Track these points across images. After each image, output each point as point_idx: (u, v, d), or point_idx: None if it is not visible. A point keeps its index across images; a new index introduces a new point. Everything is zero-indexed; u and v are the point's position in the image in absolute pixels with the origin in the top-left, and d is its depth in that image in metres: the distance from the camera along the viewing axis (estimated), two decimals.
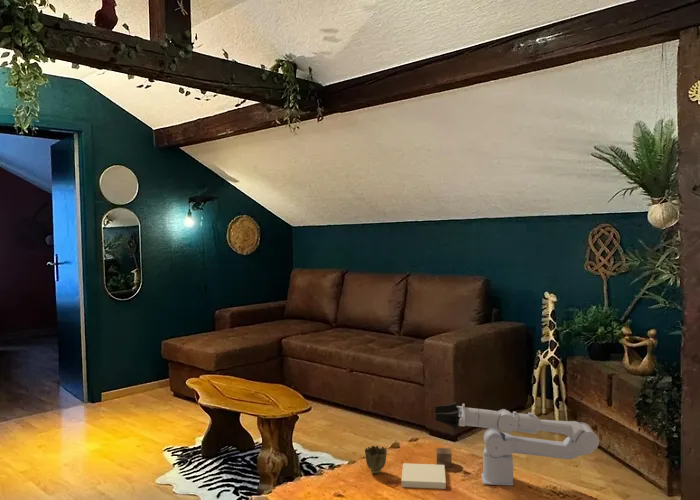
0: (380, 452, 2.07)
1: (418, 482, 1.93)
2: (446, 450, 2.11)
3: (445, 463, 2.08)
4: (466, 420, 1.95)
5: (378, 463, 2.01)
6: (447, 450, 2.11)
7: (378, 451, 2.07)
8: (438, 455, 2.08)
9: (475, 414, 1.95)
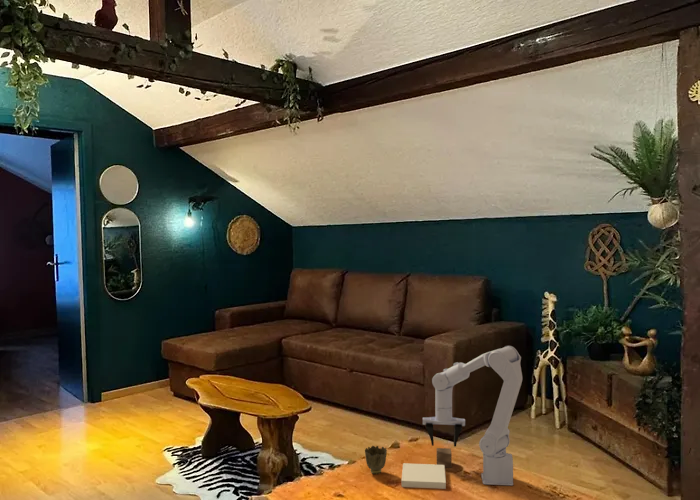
0: (380, 452, 2.07)
1: (418, 482, 1.93)
2: (446, 450, 2.11)
3: (445, 463, 2.08)
4: (435, 416, 2.10)
5: (378, 463, 2.01)
6: (447, 450, 2.11)
7: (378, 451, 2.07)
8: (438, 455, 2.08)
9: None
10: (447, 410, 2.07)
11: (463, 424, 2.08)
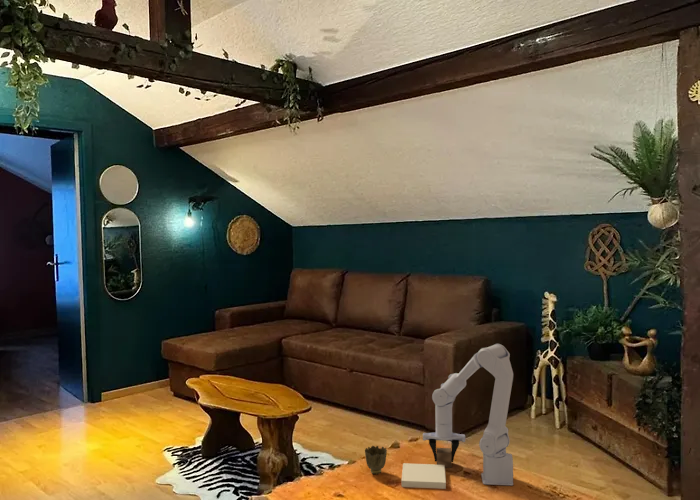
0: (380, 452, 2.07)
1: (418, 482, 1.93)
2: (446, 450, 2.11)
3: (445, 462, 2.08)
4: (435, 432, 2.10)
5: (378, 463, 2.01)
6: (447, 449, 2.11)
7: (378, 451, 2.07)
8: (438, 455, 2.08)
9: None
10: (447, 426, 2.07)
11: (463, 440, 2.08)
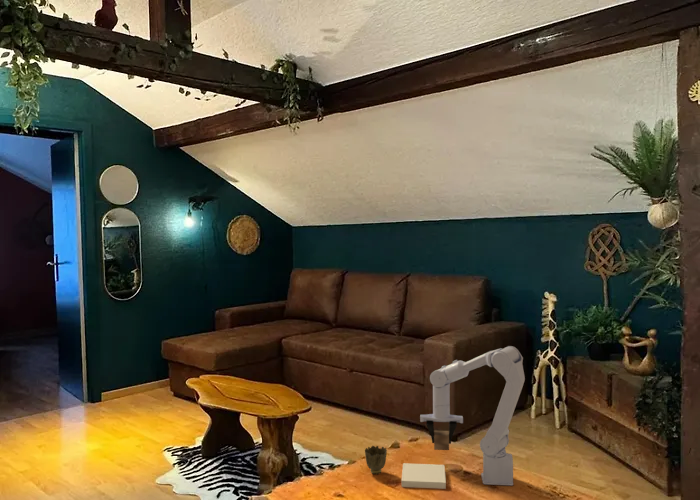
0: (380, 452, 2.07)
1: (418, 482, 1.93)
2: (444, 432, 2.09)
3: (442, 445, 2.06)
4: (433, 414, 2.08)
5: (378, 463, 2.01)
6: (444, 432, 2.10)
7: (378, 451, 2.07)
8: (435, 437, 2.07)
9: None
10: (445, 407, 2.06)
11: (461, 421, 2.07)
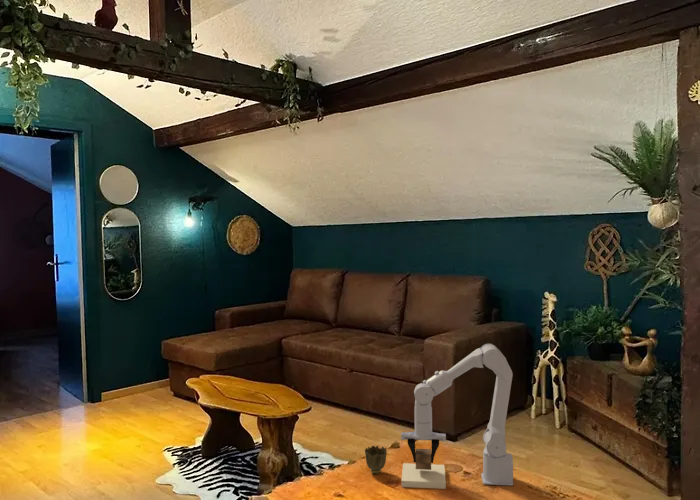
0: (380, 452, 2.07)
1: (418, 482, 1.93)
2: (426, 451, 2.00)
3: (424, 464, 1.97)
4: None
5: (378, 463, 2.01)
6: (426, 450, 2.00)
7: (378, 451, 2.07)
8: (417, 456, 1.97)
9: None
10: (426, 425, 1.96)
11: (444, 439, 1.97)
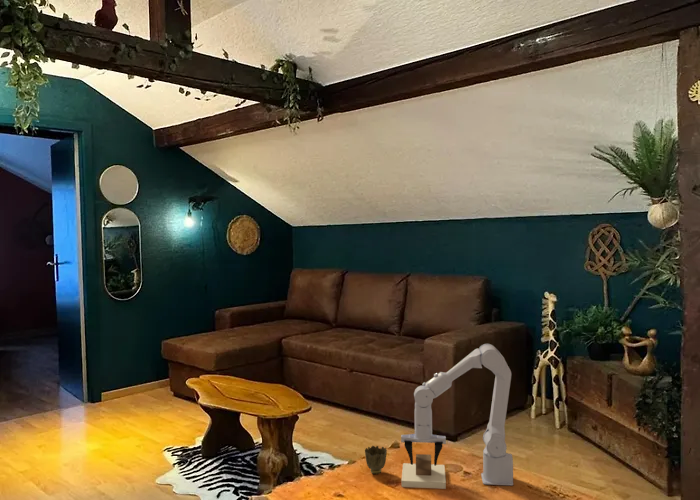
0: (380, 452, 2.07)
1: (418, 482, 1.93)
2: (426, 456, 2.00)
3: (424, 470, 1.97)
4: (414, 434, 1.99)
5: (378, 463, 2.01)
6: (427, 456, 2.00)
7: (378, 451, 2.07)
8: (417, 462, 1.97)
9: None
10: (427, 427, 1.96)
11: (444, 442, 1.97)
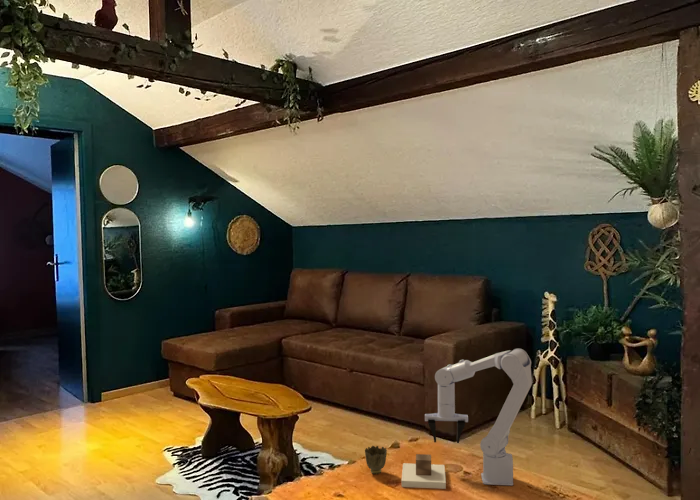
0: (380, 452, 2.07)
1: (418, 482, 1.93)
2: (426, 456, 2.00)
3: (424, 470, 1.97)
4: (438, 413, 2.06)
5: (378, 463, 2.01)
6: (427, 456, 2.00)
7: (378, 451, 2.07)
8: (417, 462, 1.97)
9: None
10: (450, 406, 2.03)
11: (466, 420, 2.05)
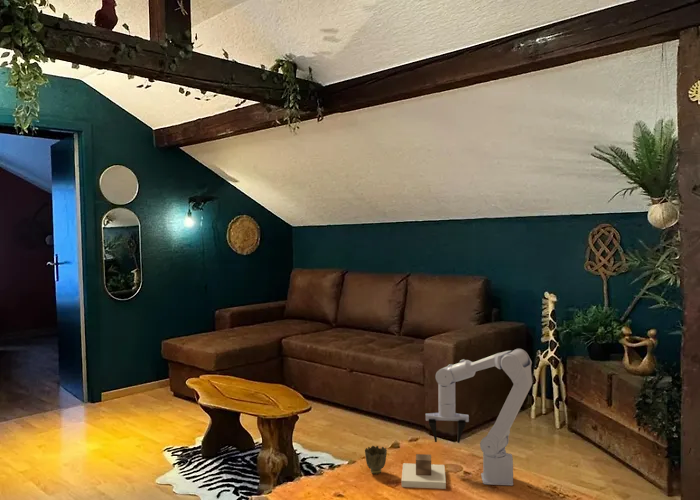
0: (380, 452, 2.07)
1: (418, 482, 1.93)
2: (426, 456, 2.00)
3: (424, 470, 1.97)
4: None
5: (378, 463, 2.01)
6: (427, 456, 2.00)
7: (378, 451, 2.07)
8: (417, 462, 1.97)
9: None
10: (450, 406, 2.04)
11: (467, 420, 2.05)
